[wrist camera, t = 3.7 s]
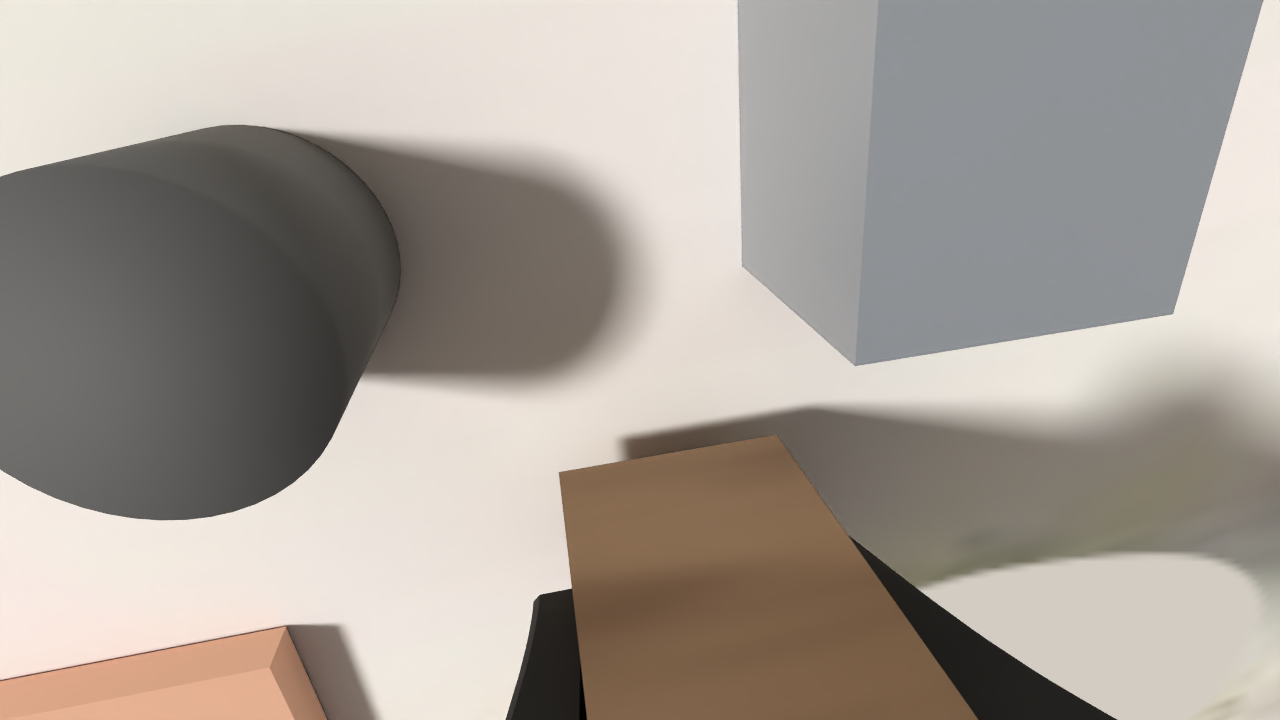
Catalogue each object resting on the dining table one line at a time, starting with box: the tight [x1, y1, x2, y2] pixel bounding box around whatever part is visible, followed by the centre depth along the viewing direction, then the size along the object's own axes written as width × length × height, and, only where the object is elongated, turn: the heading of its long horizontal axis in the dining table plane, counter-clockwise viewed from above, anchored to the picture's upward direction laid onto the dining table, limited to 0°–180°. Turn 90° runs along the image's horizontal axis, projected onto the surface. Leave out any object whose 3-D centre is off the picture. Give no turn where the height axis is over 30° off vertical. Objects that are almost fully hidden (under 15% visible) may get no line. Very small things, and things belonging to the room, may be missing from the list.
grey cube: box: [738, 0, 1263, 366], centre depth 9 cm, size 4×4×4 cm
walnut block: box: [559, 434, 978, 720], centre depth 10 cm, size 4×4×6 cm
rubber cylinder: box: [0, 125, 401, 520], centre depth 9 cm, size 4×4×4 cm
